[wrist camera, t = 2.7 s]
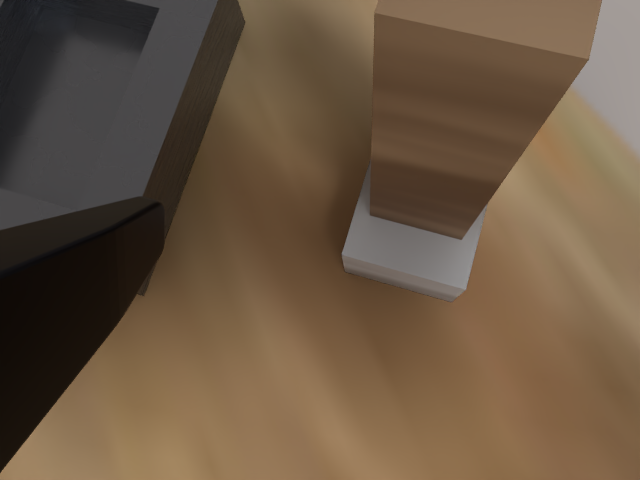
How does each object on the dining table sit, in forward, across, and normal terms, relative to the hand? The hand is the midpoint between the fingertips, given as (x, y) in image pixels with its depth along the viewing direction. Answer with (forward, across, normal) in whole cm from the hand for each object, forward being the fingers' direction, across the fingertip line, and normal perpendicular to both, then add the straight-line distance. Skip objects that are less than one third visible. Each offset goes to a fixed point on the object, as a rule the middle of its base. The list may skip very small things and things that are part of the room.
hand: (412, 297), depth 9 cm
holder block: (+11, +14, +5) cm, 19 cm away
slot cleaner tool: (+12, 0, +5) cm, 12 cm away
